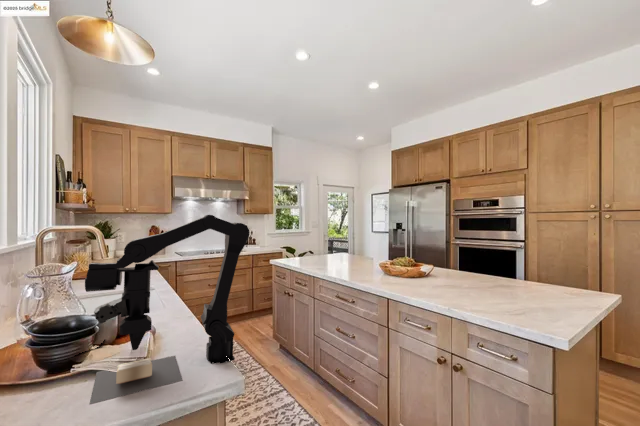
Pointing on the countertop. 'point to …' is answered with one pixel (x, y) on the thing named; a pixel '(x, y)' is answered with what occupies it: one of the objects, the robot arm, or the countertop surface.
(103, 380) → the mat
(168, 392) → the countertop surface
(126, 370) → the cream rectangular block
